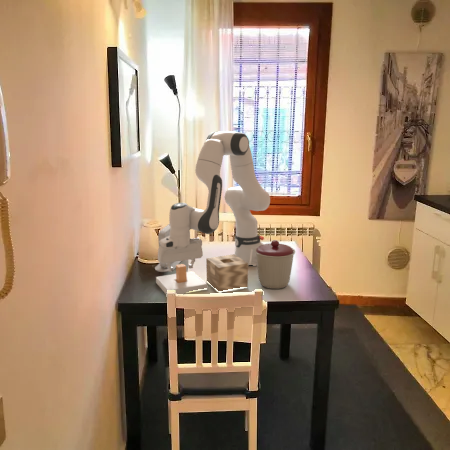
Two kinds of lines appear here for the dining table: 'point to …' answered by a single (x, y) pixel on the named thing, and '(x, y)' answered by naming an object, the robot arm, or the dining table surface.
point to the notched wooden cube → (227, 272)
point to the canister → (274, 264)
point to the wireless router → (162, 234)
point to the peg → (181, 273)
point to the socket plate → (170, 283)
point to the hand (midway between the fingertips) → (180, 269)
